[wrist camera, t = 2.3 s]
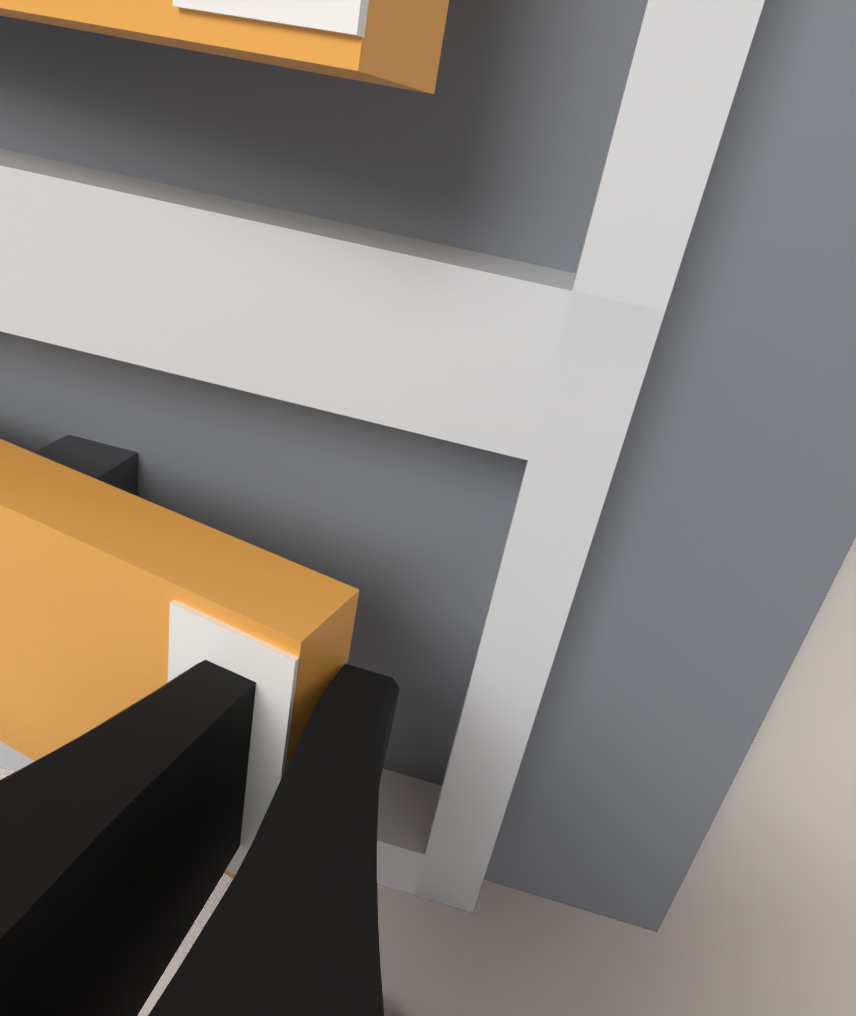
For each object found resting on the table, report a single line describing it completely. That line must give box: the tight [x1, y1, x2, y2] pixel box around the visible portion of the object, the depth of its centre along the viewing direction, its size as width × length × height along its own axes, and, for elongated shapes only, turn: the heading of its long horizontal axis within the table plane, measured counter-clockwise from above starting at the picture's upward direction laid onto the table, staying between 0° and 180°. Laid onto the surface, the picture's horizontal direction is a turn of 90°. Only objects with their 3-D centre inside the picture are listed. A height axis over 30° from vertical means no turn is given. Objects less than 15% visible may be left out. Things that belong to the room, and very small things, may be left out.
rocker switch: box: [0, 439, 359, 878], centre depth 10 cm, size 10×4×1 cm, turn 80°
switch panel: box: [0, 0, 856, 932], centre depth 10 cm, size 22×20×3 cm
